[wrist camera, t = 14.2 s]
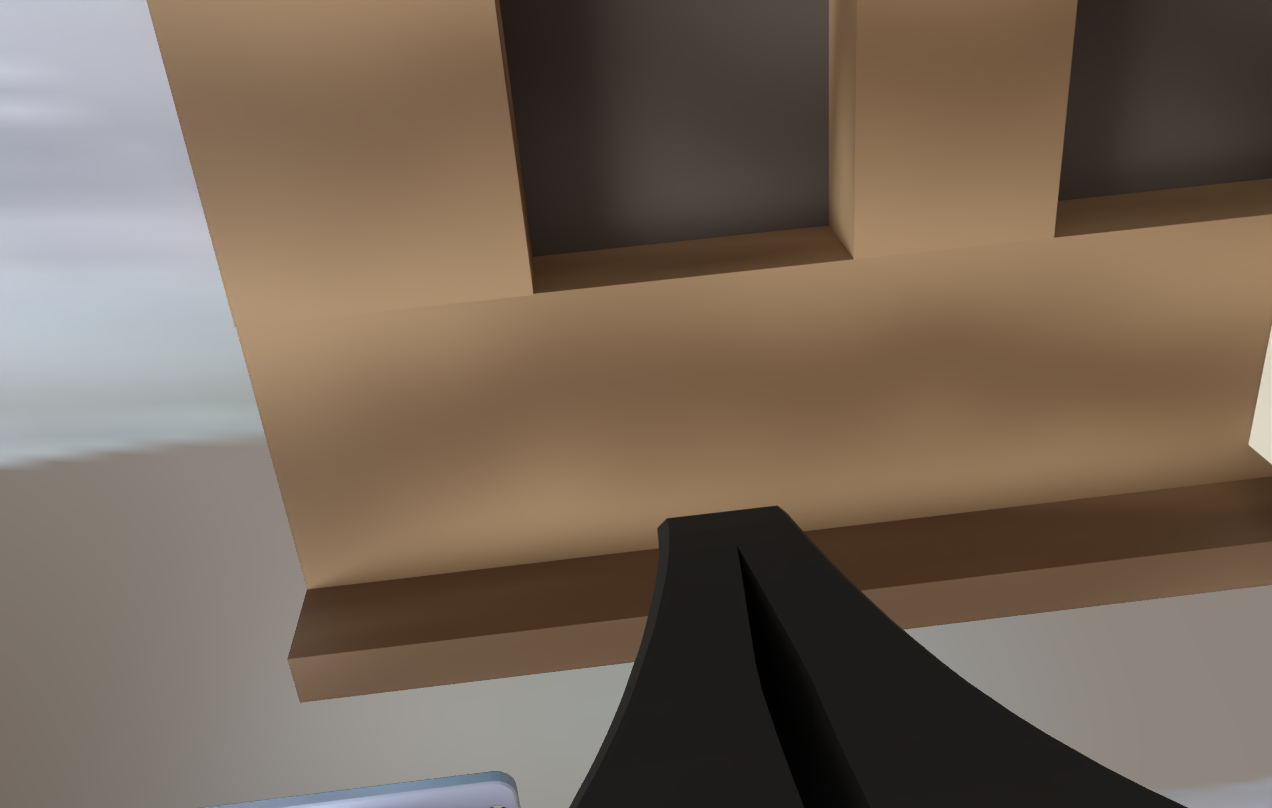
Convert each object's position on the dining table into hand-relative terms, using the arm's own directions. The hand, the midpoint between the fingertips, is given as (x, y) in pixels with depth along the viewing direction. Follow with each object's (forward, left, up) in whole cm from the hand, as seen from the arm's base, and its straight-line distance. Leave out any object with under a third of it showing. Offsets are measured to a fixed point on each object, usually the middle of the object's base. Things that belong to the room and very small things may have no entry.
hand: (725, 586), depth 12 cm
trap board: (+1, -6, -10) cm, 11 cm away
